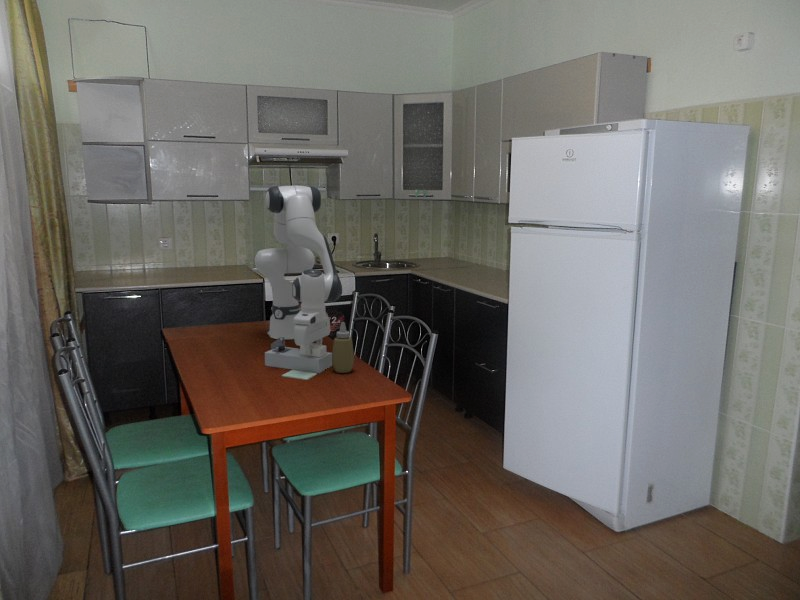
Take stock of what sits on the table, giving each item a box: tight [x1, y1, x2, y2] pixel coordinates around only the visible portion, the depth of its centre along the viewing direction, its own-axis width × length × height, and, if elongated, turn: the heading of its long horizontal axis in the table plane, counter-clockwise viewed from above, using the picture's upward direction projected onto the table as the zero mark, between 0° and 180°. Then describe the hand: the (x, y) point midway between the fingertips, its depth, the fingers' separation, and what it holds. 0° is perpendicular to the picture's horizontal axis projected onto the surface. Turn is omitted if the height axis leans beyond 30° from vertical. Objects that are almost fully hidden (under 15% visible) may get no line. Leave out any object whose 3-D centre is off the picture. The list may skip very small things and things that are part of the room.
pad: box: [281, 369, 318, 381], centre depth 214 cm, size 7×10×1 cm
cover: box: [299, 342, 327, 357], centre depth 222 cm, size 5×8×4 cm, turn 69°
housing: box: [264, 346, 333, 374], centre depth 225 cm, size 10×22×5 cm, turn 69°
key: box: [270, 337, 286, 350], centre depth 223 cm, size 2×10×4 cm, turn 170°
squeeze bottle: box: [332, 321, 355, 374], centre depth 218 cm, size 8×8×18 cm
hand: (313, 352), depth 222 cm, fingers closed on cover, 5 cm apart
